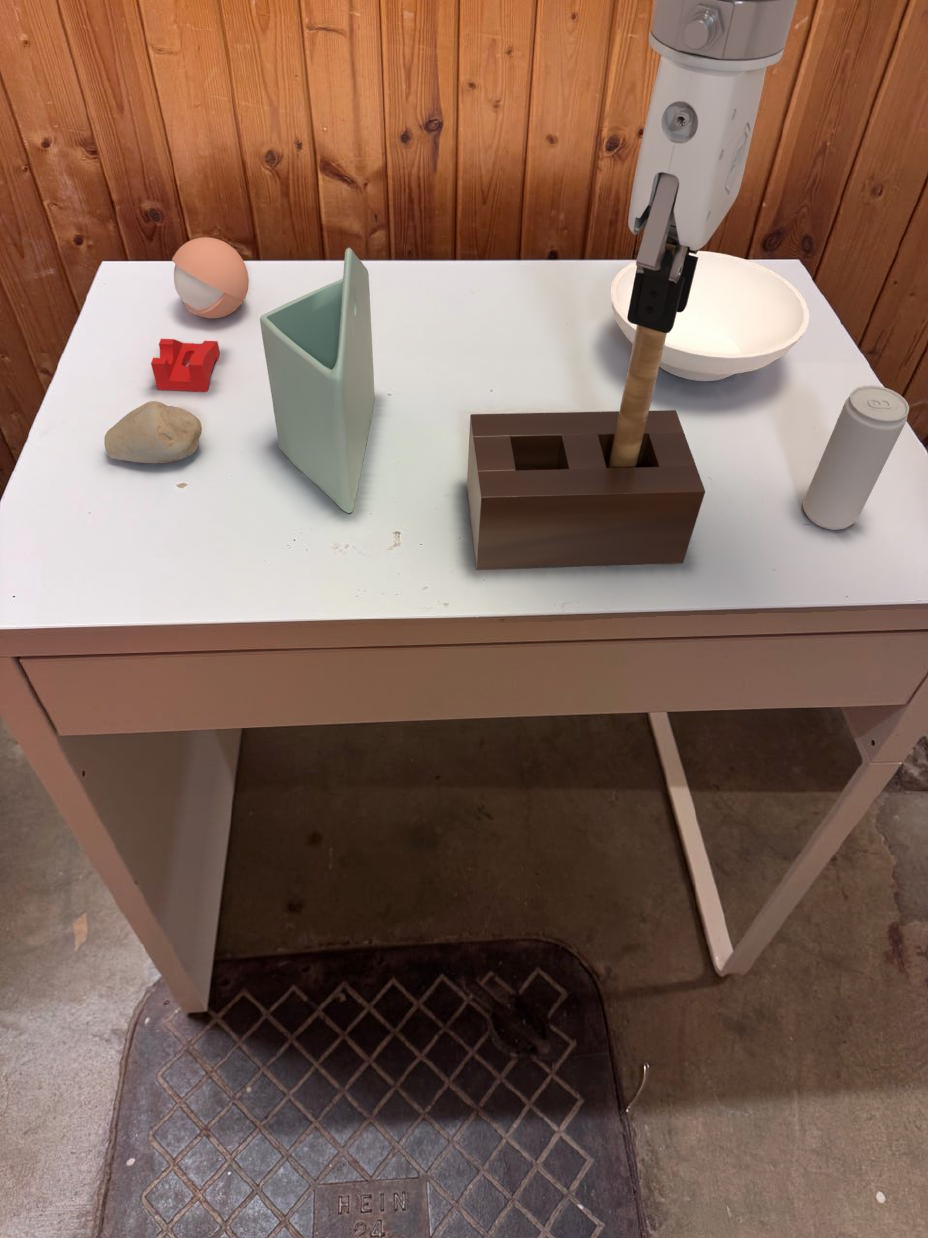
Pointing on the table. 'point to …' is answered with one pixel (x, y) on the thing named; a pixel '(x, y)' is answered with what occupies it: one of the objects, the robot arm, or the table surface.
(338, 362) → the planter
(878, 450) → the beverage can
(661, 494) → the holder
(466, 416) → the table surface
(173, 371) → the bracket
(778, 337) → the bowl
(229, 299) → the toy ball
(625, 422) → the stirring stick
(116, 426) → the stone
